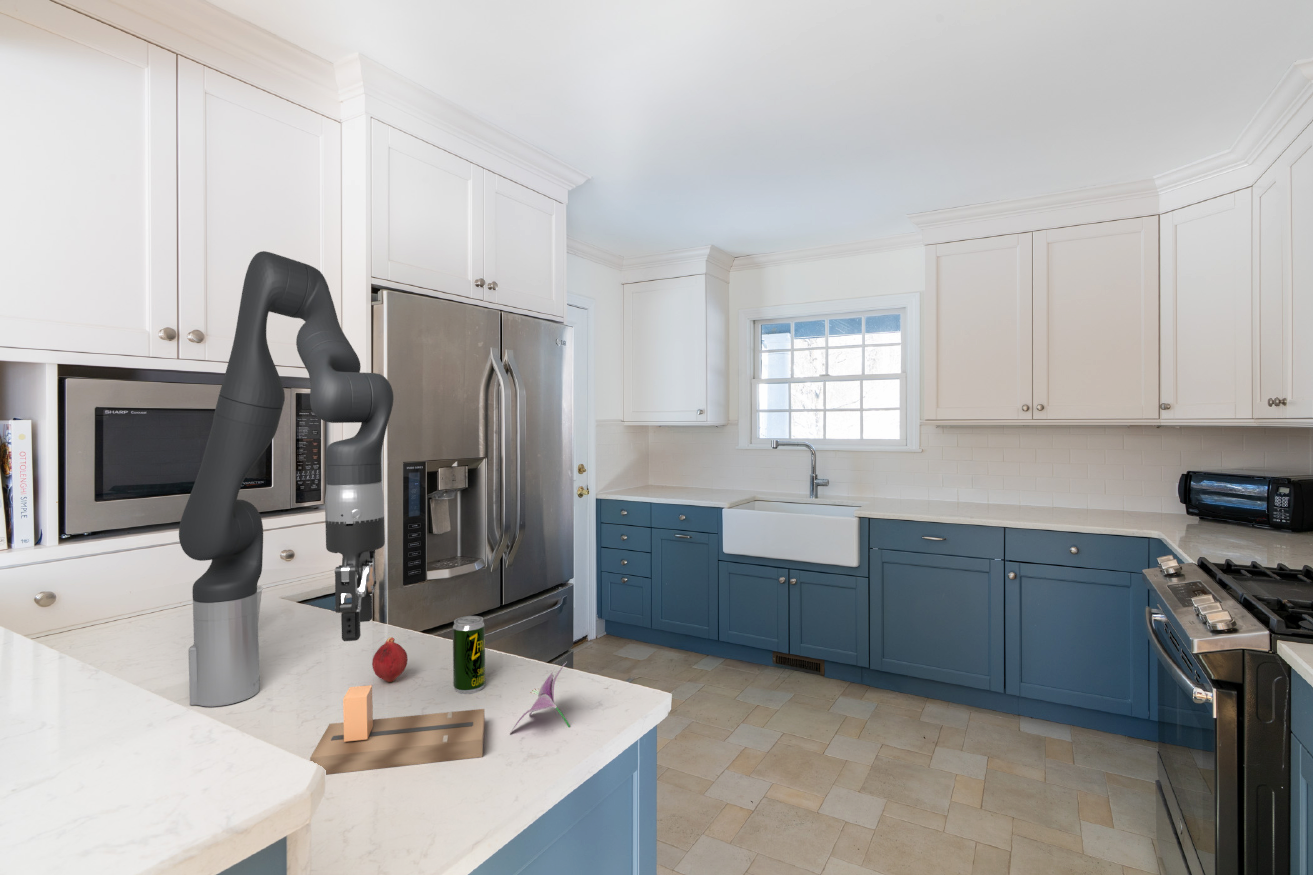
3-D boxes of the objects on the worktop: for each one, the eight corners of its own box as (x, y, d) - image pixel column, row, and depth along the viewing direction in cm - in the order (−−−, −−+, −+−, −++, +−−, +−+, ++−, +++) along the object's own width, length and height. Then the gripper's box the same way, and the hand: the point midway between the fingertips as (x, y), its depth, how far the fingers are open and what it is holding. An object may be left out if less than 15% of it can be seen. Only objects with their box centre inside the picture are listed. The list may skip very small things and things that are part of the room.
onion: (395, 689, 116) (394, 644, 116) (365, 687, 117) (364, 642, 117) (413, 677, 122) (413, 633, 122) (385, 674, 123) (384, 631, 123)
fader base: (310, 776, 88) (310, 756, 88) (329, 740, 98) (329, 722, 98) (482, 756, 93) (482, 738, 93) (484, 724, 103) (484, 707, 103)
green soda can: (447, 692, 115) (446, 623, 115) (465, 680, 120) (464, 614, 120) (474, 696, 114) (473, 626, 113) (491, 683, 119) (490, 616, 118)
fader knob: (344, 741, 92) (343, 698, 92) (350, 728, 96) (349, 687, 96) (367, 739, 93) (366, 696, 93) (372, 726, 97) (372, 685, 96)
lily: (564, 708, 111) (534, 659, 111) (609, 699, 104) (578, 646, 103) (514, 760, 102) (481, 706, 101) (560, 753, 94) (526, 696, 94)
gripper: (338, 509, 100) (341, 617, 100) (311, 524, 86) (314, 649, 86) (392, 507, 101) (394, 613, 102) (374, 521, 87) (377, 644, 88)
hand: (357, 630), depth 94 cm, fingers open, 8 cm apart
